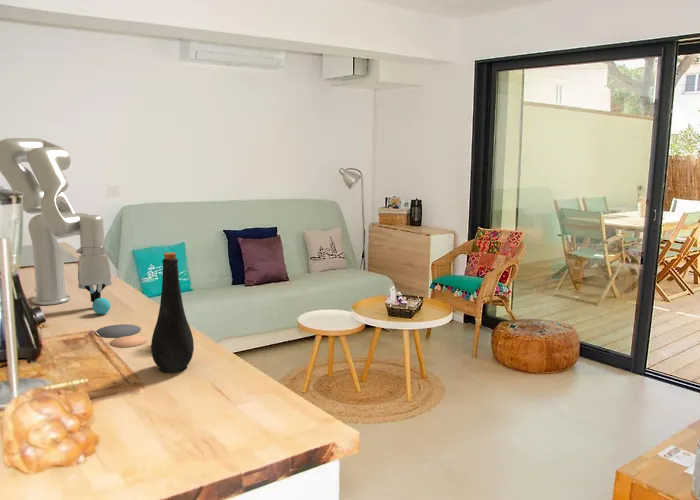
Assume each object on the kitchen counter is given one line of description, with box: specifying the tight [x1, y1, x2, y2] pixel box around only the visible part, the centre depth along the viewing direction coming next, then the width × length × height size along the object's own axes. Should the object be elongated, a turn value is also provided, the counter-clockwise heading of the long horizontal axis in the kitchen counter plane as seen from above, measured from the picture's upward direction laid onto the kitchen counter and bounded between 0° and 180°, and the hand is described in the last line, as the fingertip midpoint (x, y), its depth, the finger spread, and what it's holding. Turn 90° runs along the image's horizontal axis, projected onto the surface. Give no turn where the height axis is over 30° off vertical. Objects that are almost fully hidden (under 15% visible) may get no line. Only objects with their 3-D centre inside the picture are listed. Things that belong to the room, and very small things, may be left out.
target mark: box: [95, 323, 142, 339], centre depth 187 cm, size 13×13×1 cm
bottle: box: [150, 251, 195, 374], centre depth 155 cm, size 11×11×30 cm
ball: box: [91, 297, 111, 315], centre depth 204 cm, size 6×6×6 cm
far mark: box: [109, 335, 148, 348], centre depth 177 cm, size 10×10×1 cm
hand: (96, 303), depth 212 cm, fingers closed
